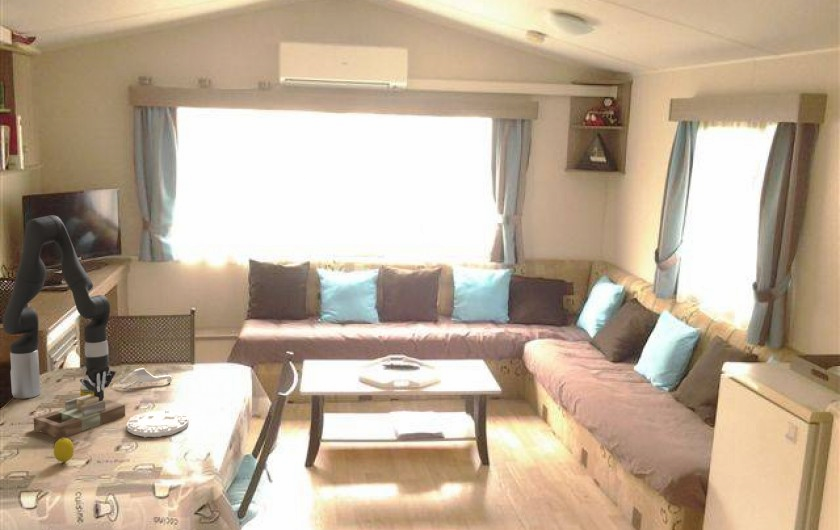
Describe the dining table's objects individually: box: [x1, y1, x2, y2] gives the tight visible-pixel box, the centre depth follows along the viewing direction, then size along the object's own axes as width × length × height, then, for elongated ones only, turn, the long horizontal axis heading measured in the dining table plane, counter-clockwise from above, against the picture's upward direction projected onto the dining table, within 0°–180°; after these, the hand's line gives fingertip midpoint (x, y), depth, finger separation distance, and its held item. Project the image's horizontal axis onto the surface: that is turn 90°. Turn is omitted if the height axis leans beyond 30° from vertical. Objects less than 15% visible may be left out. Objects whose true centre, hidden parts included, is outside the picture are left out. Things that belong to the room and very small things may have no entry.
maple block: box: [76, 395, 99, 411], centre depth 258 cm, size 5×5×4 cm
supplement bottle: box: [79, 379, 94, 397], centre depth 273 cm, size 5×5×10 cm
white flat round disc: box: [126, 409, 190, 439], centre depth 255 cm, size 20×20×3 cm
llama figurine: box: [118, 367, 173, 389], centre depth 295 cm, size 2×11×18 cm
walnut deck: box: [33, 395, 126, 440], centre depth 256 cm, size 14×25×7 cm, turn 149°
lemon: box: [53, 437, 75, 464], centre depth 225 cm, size 6×6×8 cm
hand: (99, 400), depth 262 cm, fingers closed
